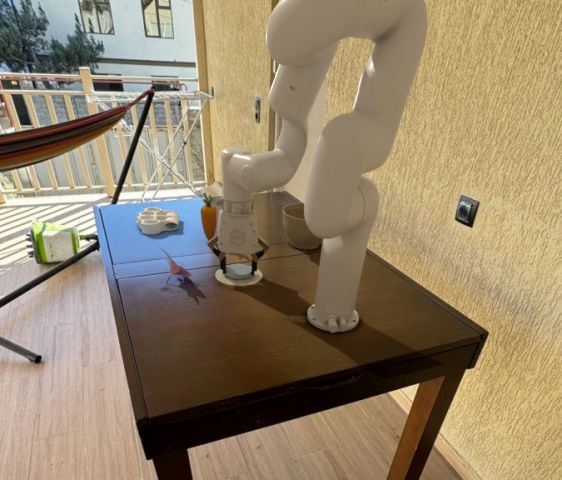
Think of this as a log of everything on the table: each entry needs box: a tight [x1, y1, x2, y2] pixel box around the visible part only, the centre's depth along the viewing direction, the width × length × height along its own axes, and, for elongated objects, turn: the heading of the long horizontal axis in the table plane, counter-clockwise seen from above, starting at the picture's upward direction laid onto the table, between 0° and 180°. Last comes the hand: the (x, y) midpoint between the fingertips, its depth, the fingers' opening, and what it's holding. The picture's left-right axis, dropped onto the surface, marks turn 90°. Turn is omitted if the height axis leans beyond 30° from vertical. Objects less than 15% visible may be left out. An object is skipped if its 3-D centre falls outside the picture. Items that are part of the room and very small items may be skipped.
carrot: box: [200, 192, 218, 242], centre depth 123 cm, size 5×5×15 cm
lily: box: [159, 246, 194, 285], centre depth 102 cm, size 12×12×10 cm
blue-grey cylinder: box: [226, 263, 252, 279], centre depth 108 cm, size 7×7×2 cm
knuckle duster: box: [133, 206, 180, 236], centre depth 135 cm, size 3×18×15 cm
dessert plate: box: [214, 265, 263, 287], centre depth 108 cm, size 13×13×1 cm
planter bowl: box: [282, 202, 323, 251], centre depth 127 cm, size 16×16×11 cm
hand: (238, 272), depth 108 cm, fingers closed on blue-grey cylinder, 7 cm apart
